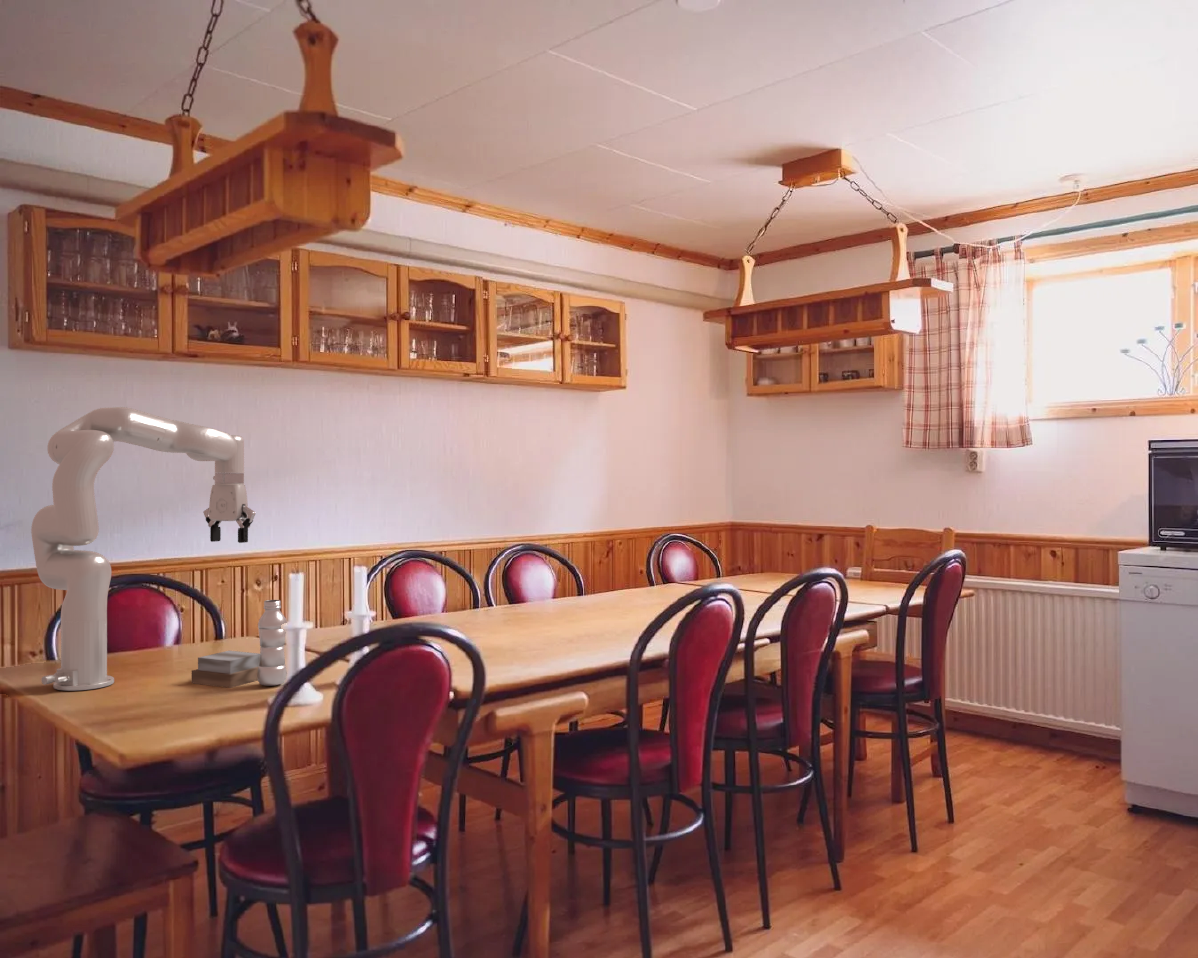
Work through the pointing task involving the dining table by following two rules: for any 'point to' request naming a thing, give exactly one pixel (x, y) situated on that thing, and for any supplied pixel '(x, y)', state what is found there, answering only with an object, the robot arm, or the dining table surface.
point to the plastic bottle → (272, 645)
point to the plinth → (224, 678)
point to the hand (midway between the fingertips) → (229, 541)
